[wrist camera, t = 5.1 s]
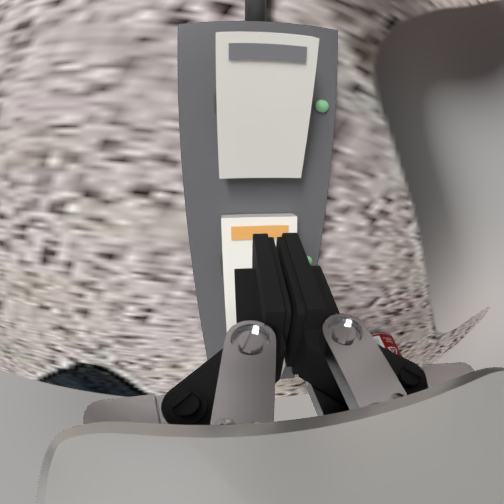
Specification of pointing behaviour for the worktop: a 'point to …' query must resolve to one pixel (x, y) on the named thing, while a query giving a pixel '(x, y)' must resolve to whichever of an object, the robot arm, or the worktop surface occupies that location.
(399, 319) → the worktop surface
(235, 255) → the block
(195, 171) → the power strip
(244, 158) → the rocker
